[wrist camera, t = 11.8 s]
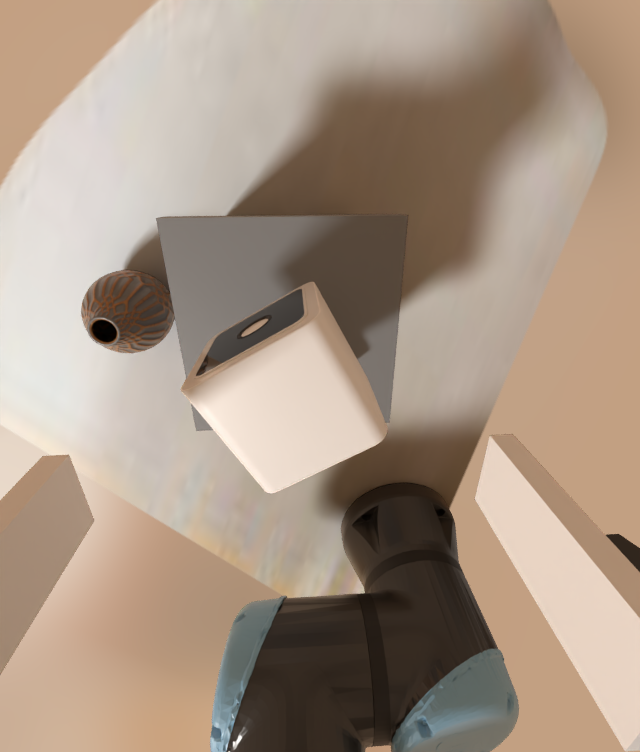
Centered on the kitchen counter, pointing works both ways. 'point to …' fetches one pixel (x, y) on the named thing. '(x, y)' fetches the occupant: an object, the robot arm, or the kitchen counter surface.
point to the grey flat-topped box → (289, 279)
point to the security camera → (286, 391)
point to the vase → (127, 311)
